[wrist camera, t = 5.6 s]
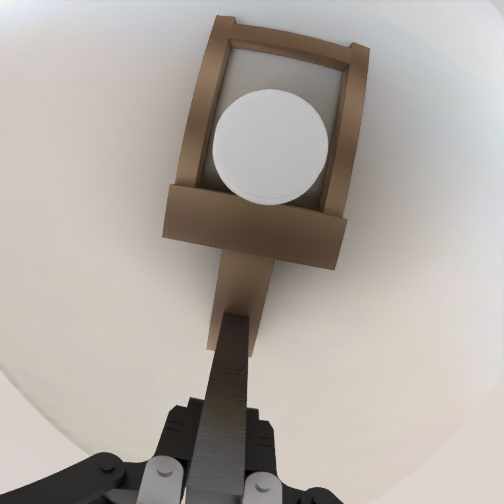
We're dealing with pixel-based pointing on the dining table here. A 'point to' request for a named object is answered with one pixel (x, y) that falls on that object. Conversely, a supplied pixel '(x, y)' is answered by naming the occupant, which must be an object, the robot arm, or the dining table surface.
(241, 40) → the strip frame
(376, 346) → the dining table surface
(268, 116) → the supplement bottle
